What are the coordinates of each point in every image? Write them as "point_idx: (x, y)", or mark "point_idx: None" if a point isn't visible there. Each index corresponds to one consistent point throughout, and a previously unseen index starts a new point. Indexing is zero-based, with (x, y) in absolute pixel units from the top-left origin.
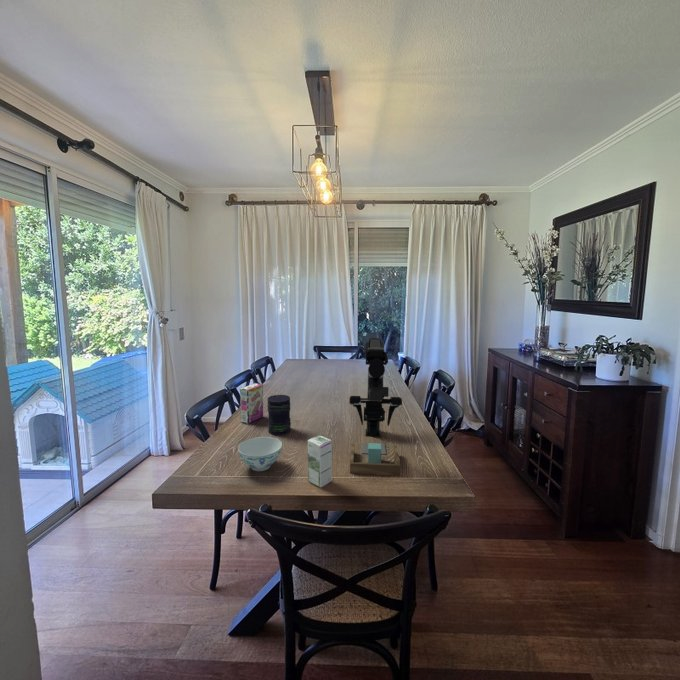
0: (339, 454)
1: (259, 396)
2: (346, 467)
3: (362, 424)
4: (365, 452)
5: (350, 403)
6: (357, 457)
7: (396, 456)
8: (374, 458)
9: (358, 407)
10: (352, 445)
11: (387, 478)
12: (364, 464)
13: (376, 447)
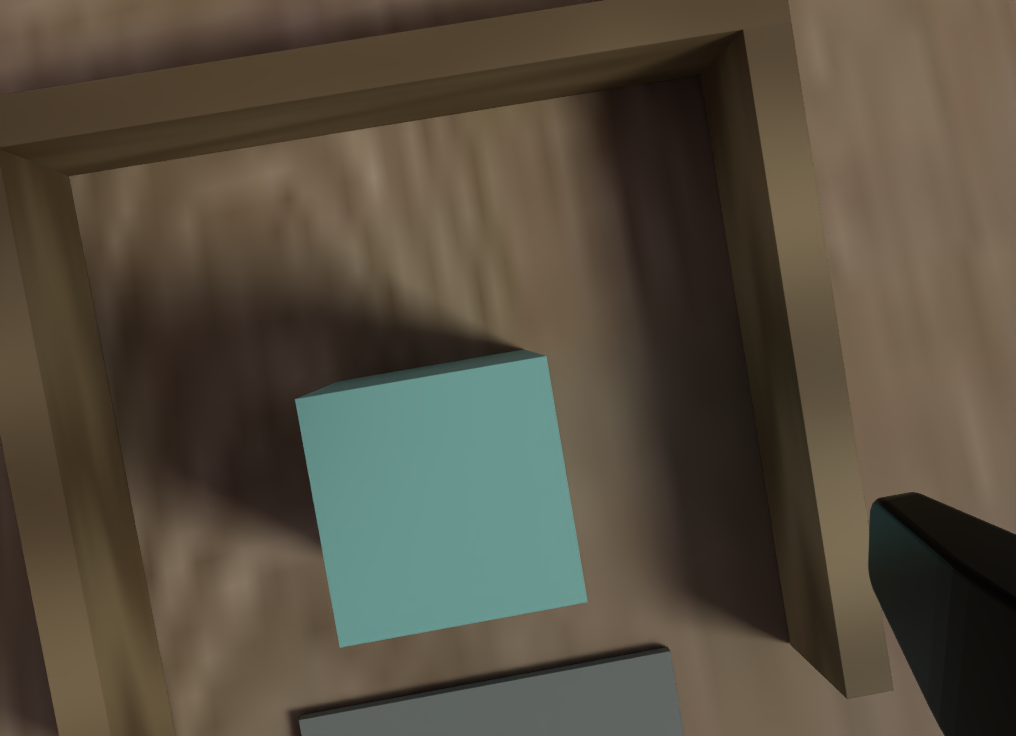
0: None
1: None
2: None
3: (890, 498)
4: (623, 683)
5: None
6: (715, 515)
7: (41, 425)
8: (430, 369)
9: None
10: (871, 640)
11: (190, 16)
12: (544, 10)
13: (397, 446)
